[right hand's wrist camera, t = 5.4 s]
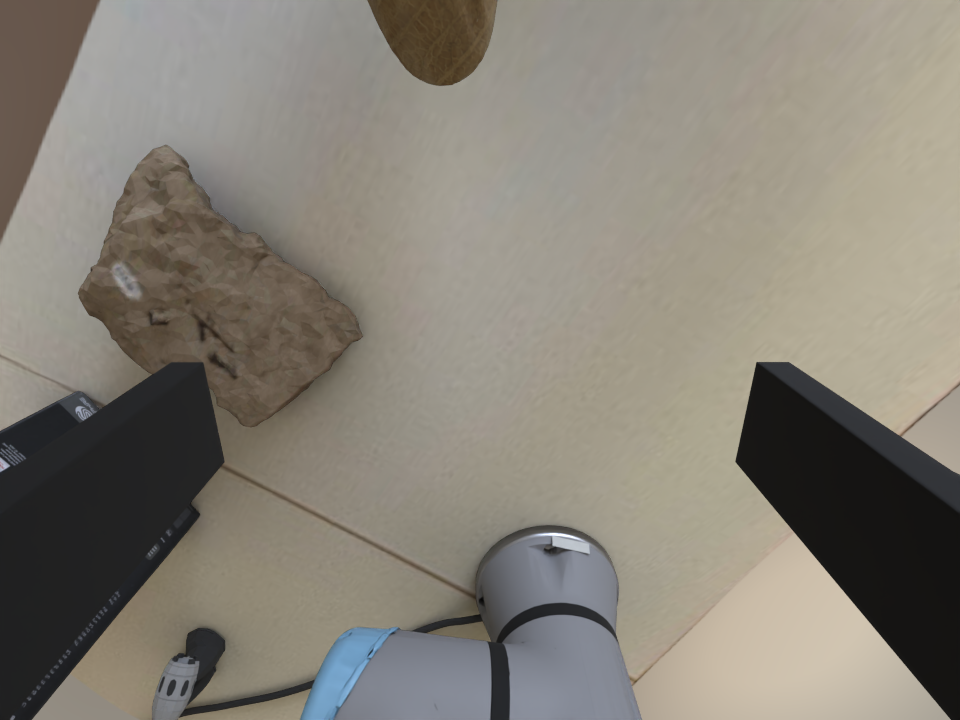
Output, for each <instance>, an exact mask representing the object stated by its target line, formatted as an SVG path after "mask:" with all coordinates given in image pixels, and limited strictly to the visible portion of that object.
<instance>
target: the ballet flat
mask: <svg viewBox="0 0 960 720" xmlns="http://www.w3.org/2000/svg"><path fill="white" fill-rule="evenodd" d="M368 3H369V5H370V7H371V9H372V12H373V14H374V17H375V19H376V21H377V23H378V25H379V27H380V29H381V31H382V33H383V35H384V36H385V38H386V40H387V42H388V44H389V46H390V47H391V49H392V51H393V52H394V54H395V55H396V56H397V57H398V59H399V60H400V62H401V63H402V64H403V66H404V67H405V68H406V69H407V70H408V71H409V72H410V73H411V74H412V75H413V76H415V77H416V78H418V79H420V80H422V81H424V82H426V83H428V84H432V85H438V86H444V85H453V84H454V83H457V82H460V81H461V80H463V79H464V78H466V77H467V76H469V75H470V74H471V73H472V72H473V71H474V70H475V69H476V67H477V66H478V64H479V63H480V62H481V60H482V59H483V57H484V54H485V52H486V50H487V48H488V45H489V42H490V38H491V35H492V31H493V25H494V20H495V13H496V6H497V0H368Z"/></svg>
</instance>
